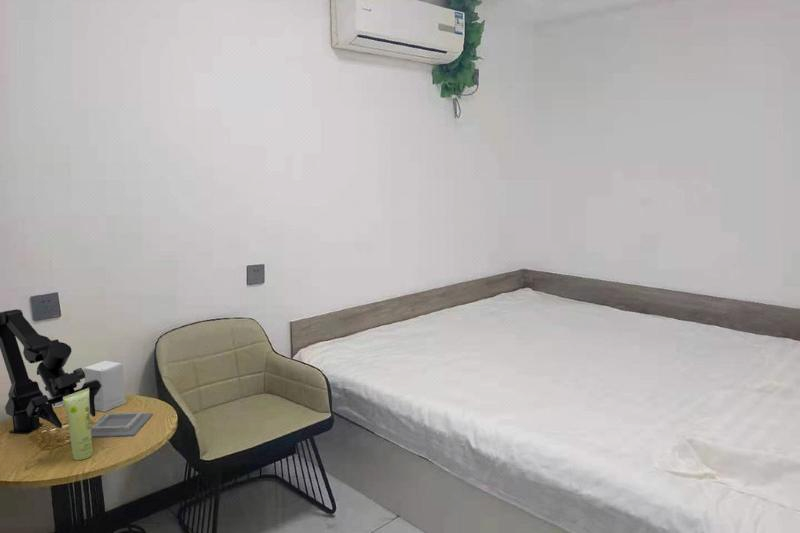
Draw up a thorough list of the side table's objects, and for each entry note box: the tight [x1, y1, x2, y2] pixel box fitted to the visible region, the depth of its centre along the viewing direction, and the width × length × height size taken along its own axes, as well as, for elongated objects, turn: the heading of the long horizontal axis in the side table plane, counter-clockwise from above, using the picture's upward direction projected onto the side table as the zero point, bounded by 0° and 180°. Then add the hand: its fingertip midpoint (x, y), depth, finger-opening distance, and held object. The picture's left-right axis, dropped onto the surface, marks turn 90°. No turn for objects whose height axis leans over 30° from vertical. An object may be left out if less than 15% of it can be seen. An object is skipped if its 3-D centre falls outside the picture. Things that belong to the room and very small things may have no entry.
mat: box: [91, 412, 154, 439], centre depth 177 cm, size 16×16×1 cm
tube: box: [63, 388, 94, 461], centre depth 156 cm, size 6×5×20 cm
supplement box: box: [82, 360, 127, 413], centre depth 192 cm, size 9×9×15 cm
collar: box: [91, 411, 144, 433], centre depth 177 cm, size 11×11×2 cm
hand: (78, 421), depth 156 cm, fingers open, 9 cm apart
